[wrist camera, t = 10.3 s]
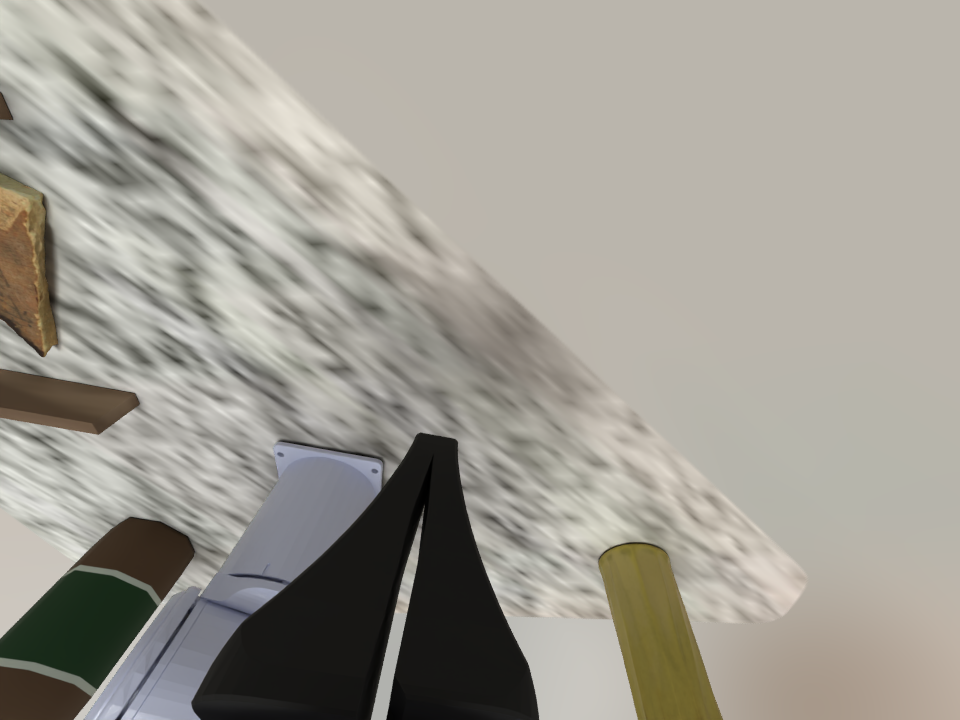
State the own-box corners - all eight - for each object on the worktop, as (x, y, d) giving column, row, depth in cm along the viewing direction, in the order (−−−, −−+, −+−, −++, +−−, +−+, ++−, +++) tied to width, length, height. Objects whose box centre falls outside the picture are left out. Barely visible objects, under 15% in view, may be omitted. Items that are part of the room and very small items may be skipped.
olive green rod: (654, 581, 34) (735, 828, 22) (590, 574, 34) (636, 817, 22) (679, 546, 30) (792, 815, 18) (608, 538, 30) (674, 802, 18)
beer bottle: (192, 568, 38) (-163, 1059, 18) (112, 542, 36) (-386, 1061, 16) (203, 535, 34) (-229, 1112, 14) (115, 505, 32) (-532, 1123, 12)
